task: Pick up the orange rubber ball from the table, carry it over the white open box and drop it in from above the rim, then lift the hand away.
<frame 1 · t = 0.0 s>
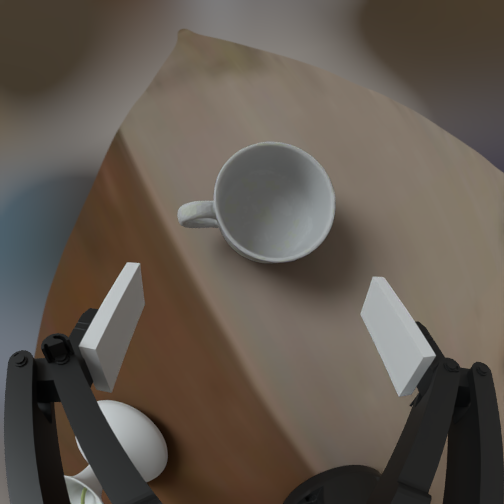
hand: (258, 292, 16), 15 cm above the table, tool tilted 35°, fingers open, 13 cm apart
flower in vase: (129, 443, 28), on the table
teacup: (250, 220, 33), on the table
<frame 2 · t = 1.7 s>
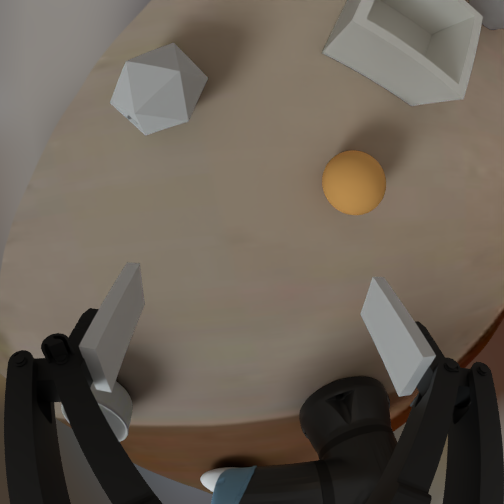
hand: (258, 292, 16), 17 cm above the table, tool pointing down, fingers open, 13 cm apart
coffee cup: (483, 11, 22), on the table
ball: (344, 178, 31), on the table
die: (168, 95, 28), on the table
white open box: (385, 40, 26), on the table
flower in vase: (231, 471, 50), on the table
teacup: (108, 393, 42), on the table
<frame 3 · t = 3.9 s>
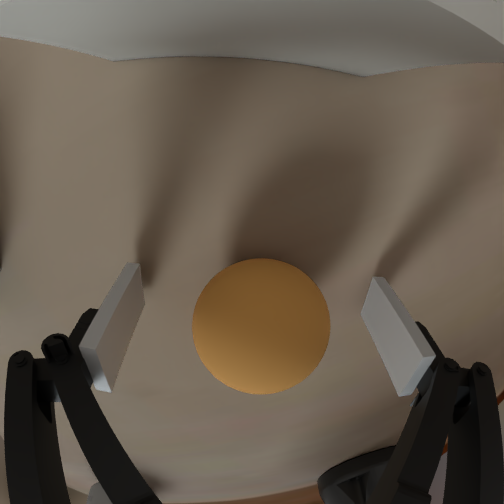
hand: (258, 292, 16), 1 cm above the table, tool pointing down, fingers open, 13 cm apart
ball: (257, 289, 17), on the table
teacup: (126, 488, 36), on the table
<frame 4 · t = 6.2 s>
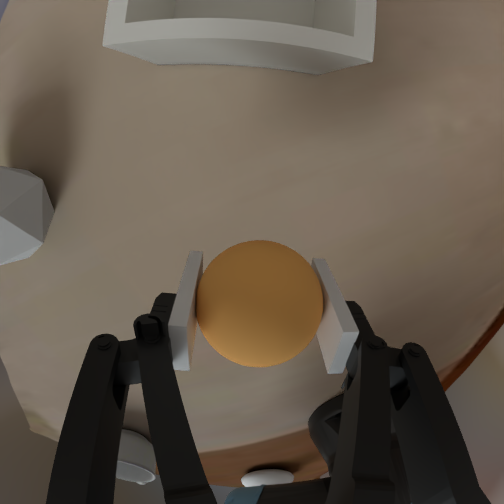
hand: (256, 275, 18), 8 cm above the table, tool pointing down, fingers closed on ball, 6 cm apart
ball: (256, 271, 18), point 8 cm above the table, touching gripper
die: (33, 198, 23), on the table
flower in vase: (270, 471, 52), on the table
teacup: (133, 439, 44), on the table
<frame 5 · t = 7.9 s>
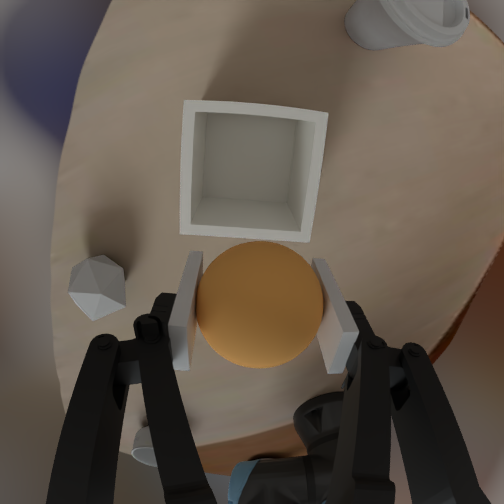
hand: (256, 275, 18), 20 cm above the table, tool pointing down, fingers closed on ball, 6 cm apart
coffee cup: (368, 27, 27), on the table
ball: (256, 272, 18), point 20 cm above the table, touching gripper
die: (108, 272, 40), on the table
white open box: (248, 156, 34), on the table
teacup: (160, 434, 60), on the table
when the fingers open (12 cm above the table, at t = 10.1 s): ball drops 11 cm, resting on white open box.
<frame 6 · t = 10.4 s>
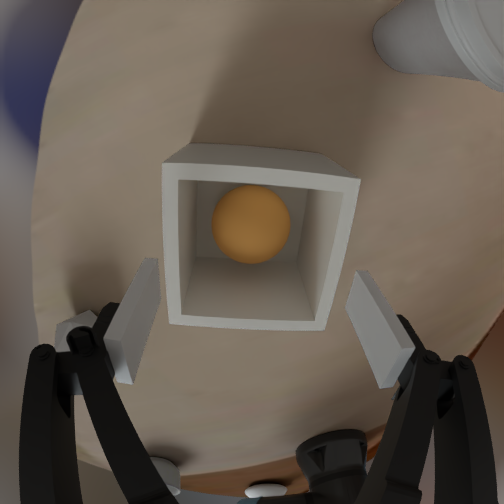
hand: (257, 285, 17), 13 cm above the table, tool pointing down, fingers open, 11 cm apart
coffee cup: (400, 43, 21), on the table
ball: (252, 211, 28), point 1 cm above the table, touching white open box
die: (96, 326, 35), on the table
white open box: (250, 209, 29), on the table
flower in vase: (268, 484, 63), on the table
teacup: (161, 463, 56), on the table
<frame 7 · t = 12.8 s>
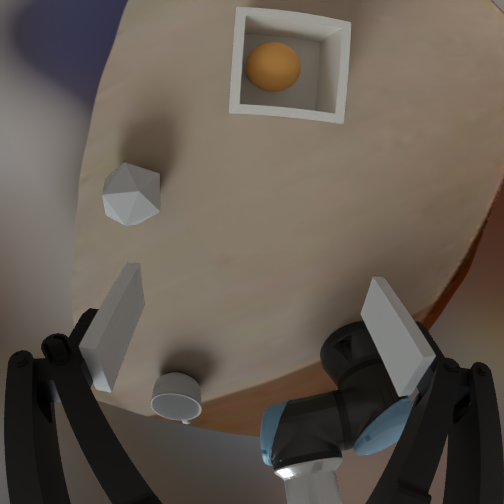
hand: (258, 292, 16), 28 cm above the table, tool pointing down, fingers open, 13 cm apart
ball: (281, 70, 34), point 1 cm above the table, tilted 25°, touching white open box
die: (140, 186, 42), on the table
white open box: (279, 71, 35), on the table
teacup: (180, 383, 63), on the table
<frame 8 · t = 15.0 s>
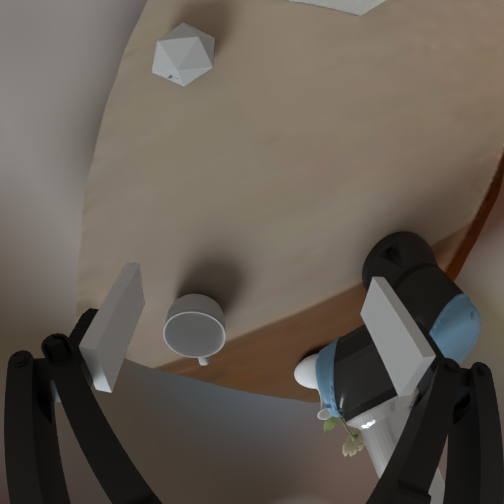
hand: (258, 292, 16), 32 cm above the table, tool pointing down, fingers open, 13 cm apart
die: (188, 58, 37), on the table
flower in vase: (320, 362, 65), on the table
teacup: (199, 314, 57), on the table
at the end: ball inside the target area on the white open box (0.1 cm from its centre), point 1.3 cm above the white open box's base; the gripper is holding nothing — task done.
